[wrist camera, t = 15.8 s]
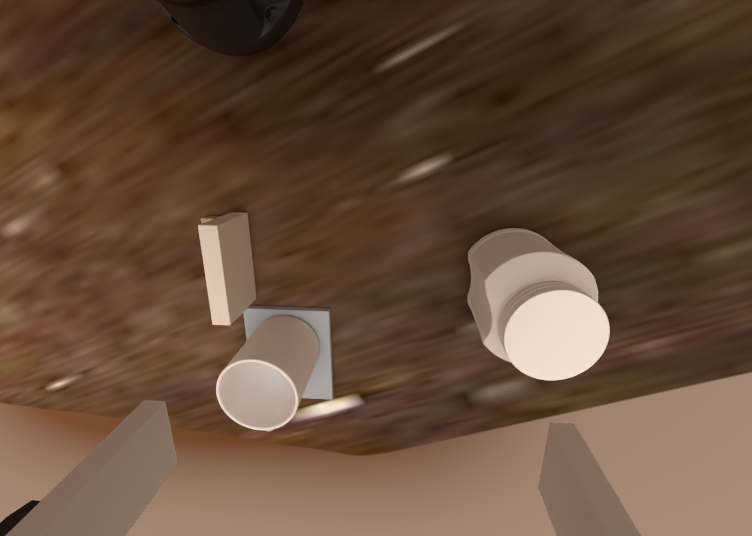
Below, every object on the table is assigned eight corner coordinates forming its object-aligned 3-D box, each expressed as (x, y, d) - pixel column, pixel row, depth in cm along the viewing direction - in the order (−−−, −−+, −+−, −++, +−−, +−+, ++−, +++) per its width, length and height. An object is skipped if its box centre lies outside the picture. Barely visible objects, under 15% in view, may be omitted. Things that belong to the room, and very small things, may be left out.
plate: (245, 305, 48) (242, 308, 47) (330, 308, 48) (328, 311, 47) (255, 390, 52) (253, 395, 52) (333, 394, 52) (332, 399, 51)
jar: (467, 229, 43) (497, 271, 29) (554, 225, 42) (629, 267, 28) (466, 320, 47) (492, 397, 32) (547, 318, 46) (609, 397, 32)
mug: (257, 390, 51) (220, 451, 41) (254, 310, 47) (212, 355, 37) (320, 396, 51) (298, 460, 41) (321, 316, 47) (298, 364, 37)
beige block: (206, 211, 45) (169, 224, 38) (247, 212, 45) (217, 225, 37) (218, 297, 48) (186, 323, 41) (256, 298, 48) (230, 325, 41)
